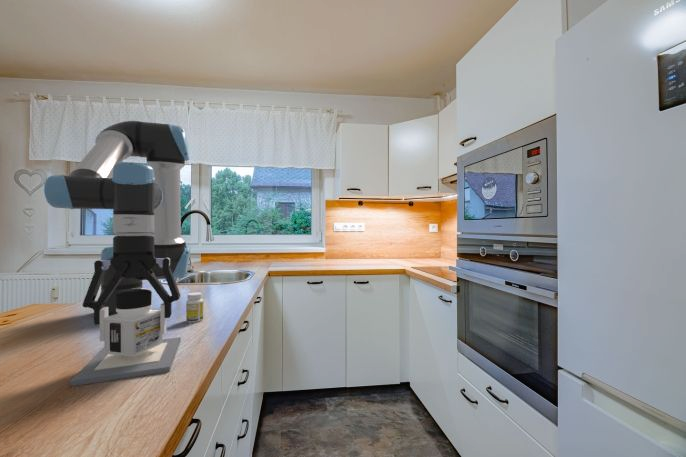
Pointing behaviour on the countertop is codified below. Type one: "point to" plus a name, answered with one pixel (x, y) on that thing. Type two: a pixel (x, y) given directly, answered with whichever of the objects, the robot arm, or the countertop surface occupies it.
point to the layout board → (128, 364)
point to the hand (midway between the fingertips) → (134, 335)
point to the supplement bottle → (194, 307)
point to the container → (132, 324)
